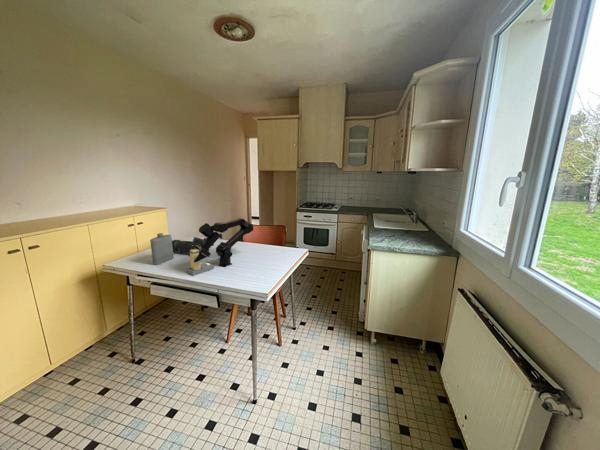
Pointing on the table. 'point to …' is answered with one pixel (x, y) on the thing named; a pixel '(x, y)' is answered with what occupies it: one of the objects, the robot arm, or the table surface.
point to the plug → (193, 256)
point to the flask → (161, 248)
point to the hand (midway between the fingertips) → (193, 259)
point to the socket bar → (204, 268)
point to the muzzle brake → (182, 246)
